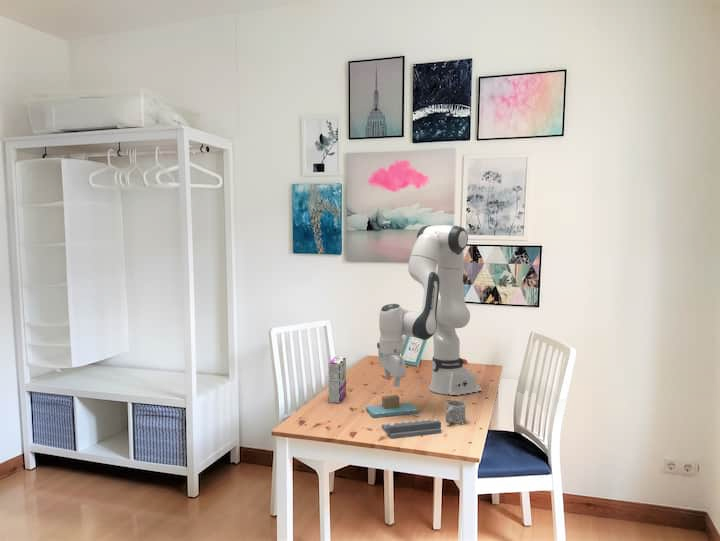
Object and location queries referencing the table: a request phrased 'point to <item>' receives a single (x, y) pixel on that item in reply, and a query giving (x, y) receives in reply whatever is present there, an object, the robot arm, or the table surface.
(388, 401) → the teal flat block
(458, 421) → the mug
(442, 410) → the table surface
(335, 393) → the candy bar box
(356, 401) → the table surface
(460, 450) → the table surface
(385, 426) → the grey toy road piece
